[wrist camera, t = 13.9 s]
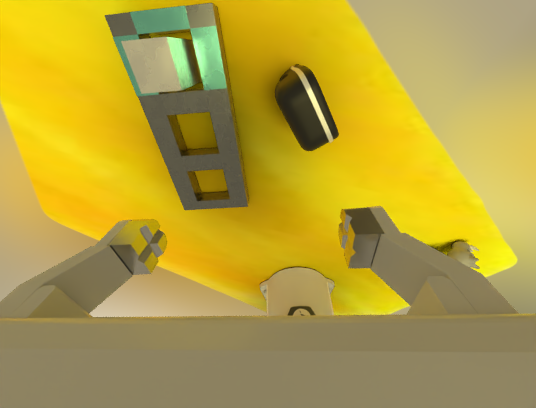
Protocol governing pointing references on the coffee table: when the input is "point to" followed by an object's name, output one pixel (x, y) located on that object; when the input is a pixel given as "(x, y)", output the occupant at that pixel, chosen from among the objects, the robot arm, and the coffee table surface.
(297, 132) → the battery charger
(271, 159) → the coffee table surface
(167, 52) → the steel block
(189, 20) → the grey slotted board
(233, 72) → the coffee table surface
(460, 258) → the toy rhinoceros
